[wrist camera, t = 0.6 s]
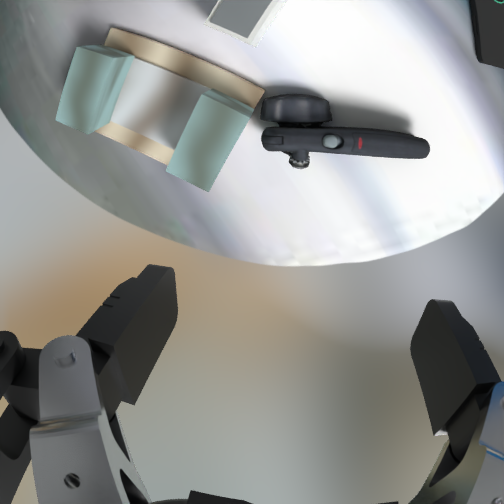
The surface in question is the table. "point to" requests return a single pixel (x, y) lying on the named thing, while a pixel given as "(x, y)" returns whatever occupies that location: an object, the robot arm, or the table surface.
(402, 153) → the can opener
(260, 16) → the block
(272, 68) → the table surface
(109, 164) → the table surface
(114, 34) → the rail board
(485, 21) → the smart home device
